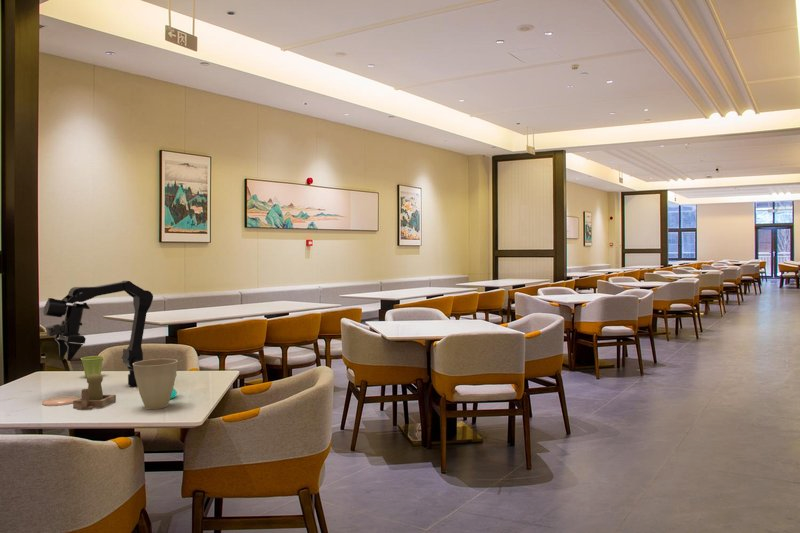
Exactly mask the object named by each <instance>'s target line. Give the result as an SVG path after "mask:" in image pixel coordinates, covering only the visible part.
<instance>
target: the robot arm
mask: <svg viewBox="0 0 800 533" xmlns="http://www.w3.org/2000/svg"><path fill="white" fill-rule="evenodd" d="M120 292H126V294H128V296H130V297H132V300H133V302H132V303H133V304H132V305H133V308H134V315H133V320H132V321H133V322H132V326H131V334H130V340H129V345H128V346H127V348H123V349H122V357H121V359H122V362H123V365H124V366H126V368H127V369H128V371H129V373H128V374H127V385H128V386H129V388H135V387H137V383H136V379H135V375H134V369H133V363H135V362H139V361H144V352H143V349H142V344H143V338H144V337H143V336H144V332H145V326H146V325H145V324H146V318H147V313H148V311H149V310H150V307H151V306H152V303H153V299H154V295H153V293H152V292H151V291H149V290H145V289H144V288H142V287H140V286H138V285H136V284H134V283H133V282H131V281H130V280H122V281H118V282H113V283H108V284H107V283H106V284H102V285H95V286H74V287H71V288H70V290H69V291H68V293H67V295H65V296H64V297H63V298H62V299H56V298H53V297H51V298H50V297H48V298H47V301H46V302H45V305H44V307H43V315H44V316H46V317H54V318H62V317H63V316H64V317H65V318H64V320H62V321H61V323H60V324H59V323H57V324H53V325H49V326H46V327H45V331H46V332H45V333H46V336H48V337H53V338H54V340H55V341H56V342H57V344H58V350H59V351H58V353H59V358H60V359H63V358H64V357H65V355H66V354H67V355H66V361H67V362H70V361H72V359H73V358H74V357H75V356H76V354H77V352H79V350H80V349H81V347H82V346H84V344H85V343H86V339H87V338H86V337H85V336H84V335H81V333H80V329H81V326H82V327H83V322H82V318H83V313H84V309H85V310H90V308H91V307H90V306H89V305H88V303H87V302H86V301H89V300H92V299H93V298H96V297H98V296H103V295H108V294H109V295H110V294H115V293H120ZM70 304H72V305H70Z"/></svg>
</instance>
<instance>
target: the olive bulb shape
mask: <svg viewBox="0 0 800 533" xmlns="http://www.w3.org/2000/svg"><path fill="white" fill-rule="evenodd" d="M103 380H104V378H103V375H102V374H101V375H100V374H92V375H89V376H88V377H87V378H86V383H87V389H89V400H102V399H103V395H104V394H103V387H102V383H103Z"/></svg>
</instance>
